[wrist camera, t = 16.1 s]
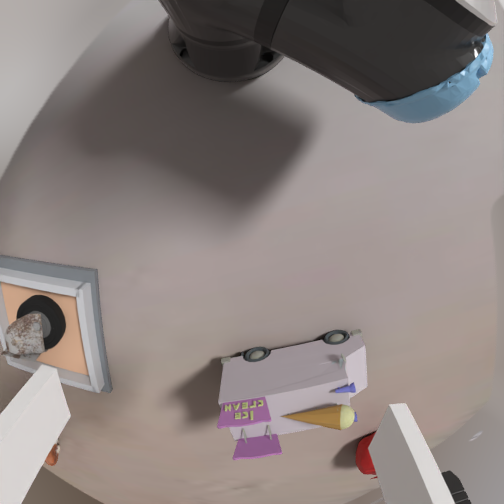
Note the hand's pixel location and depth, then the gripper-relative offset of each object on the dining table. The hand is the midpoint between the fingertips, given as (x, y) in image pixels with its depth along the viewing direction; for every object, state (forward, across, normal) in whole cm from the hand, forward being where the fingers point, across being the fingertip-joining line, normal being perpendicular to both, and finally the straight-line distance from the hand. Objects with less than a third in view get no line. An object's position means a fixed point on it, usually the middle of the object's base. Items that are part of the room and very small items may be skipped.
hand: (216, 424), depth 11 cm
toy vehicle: (+31, +9, -18) cm, 37 cm away
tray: (+31, -31, -18) cm, 47 cm away
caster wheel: (+30, -31, -16) cm, 46 cm away
